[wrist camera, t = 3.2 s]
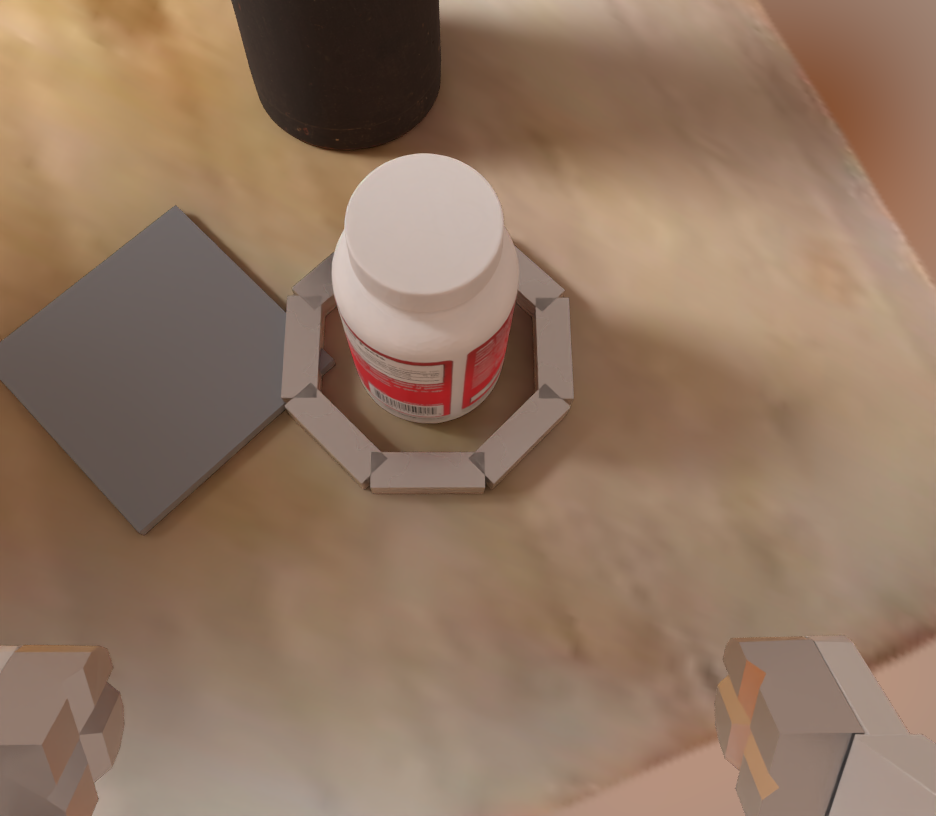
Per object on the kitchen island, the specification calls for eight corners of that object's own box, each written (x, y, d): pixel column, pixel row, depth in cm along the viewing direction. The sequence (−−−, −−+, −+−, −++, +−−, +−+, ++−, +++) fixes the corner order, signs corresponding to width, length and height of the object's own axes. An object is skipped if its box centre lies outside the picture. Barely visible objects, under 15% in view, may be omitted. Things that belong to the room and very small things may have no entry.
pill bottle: (473, 273, 35) (489, 107, 25) (523, 400, 34) (562, 281, 23) (336, 314, 34) (291, 162, 24) (380, 447, 33) (353, 346, 22)
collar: (427, 554, 32) (427, 550, 30) (231, 355, 34) (224, 345, 33) (623, 357, 34) (629, 347, 33) (430, 185, 36) (429, 170, 35)
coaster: (144, 535, 31) (138, 533, 31) (-12, 362, 33) (-20, 357, 33) (335, 364, 34) (333, 359, 33) (179, 212, 36) (175, 205, 35)
